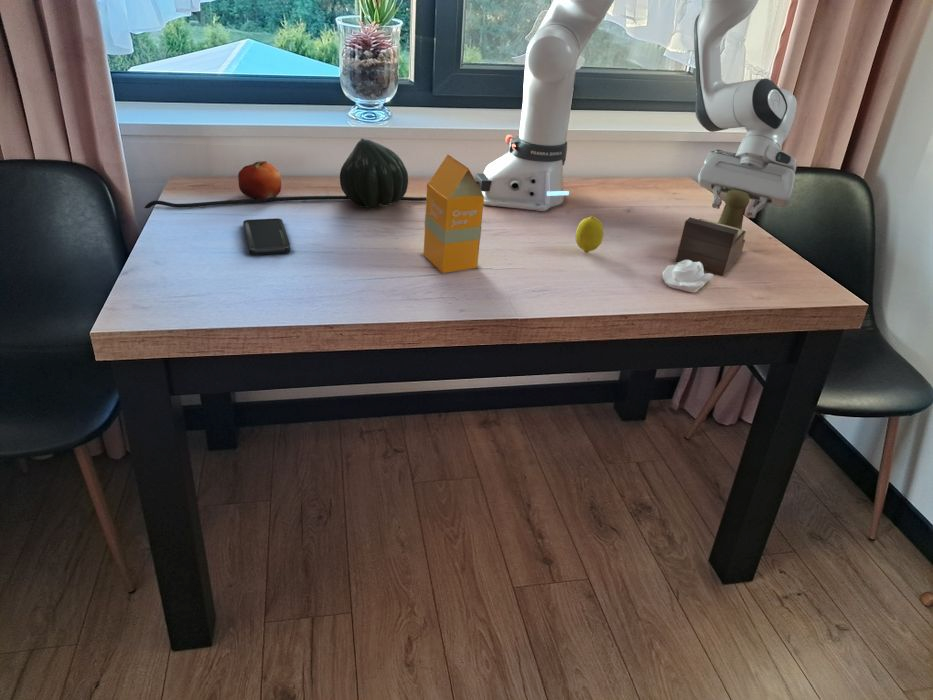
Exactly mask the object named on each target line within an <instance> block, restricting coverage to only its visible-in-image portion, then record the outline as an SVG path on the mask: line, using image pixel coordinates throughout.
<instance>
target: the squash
mask: <svg viewBox="0 0 933 700" xmlns="http://www.w3.org/2000/svg"><path fill="white" fill-rule="evenodd" d="M339 184H340V187H341V190H342V192H343V194H344V196H347V197H348V198H349V199H348V200H350V201H351V203H352V204H353V205H355V206H356V207H359V208H367V209H368V210H376V209H378V208H379V207H380V206H383V207H386V206H390V204H395V203H397V202H399V201H401V200H400V199H402V198H403V197H405V195H406V193H407V190H408V186H409V173H408V170H407V168H406V166H405V163H404V162H403V160H402V159H401V157H400V156H399V155H398V154H396V152H395V151H393V150H391V149H390V148H388V147H386V146H384V145H382V144H380V143H378V142H376V141H373V140H371V139H367V138H360V140H359V141H358V142H357V143H356V145H355V146H354V148H353V149H352V151H351V152H350V154H349V156H348V157H347V158H346V160H345V161H344V163H343V165H342V166H341V169H340V173H339Z"/></svg>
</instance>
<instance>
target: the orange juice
mask: <svg viewBox="0 0 933 700" xmlns="http://www.w3.org/2000/svg"><path fill="white" fill-rule="evenodd" d="M446 154H447V155H446V156H445V158H444V159H443V161H441V164H440V165H439V167H438V168H437V169H436V171H435V173H434V174H433V176H432V177H431V178H430V180H429V181H428V183H427V184H426V197H427V199H426V201H425V202H426V203H425V215H424V236H423V237H424V238H423V239H424V240H423V256H424V257H425V258H426V259H427V260H428V261H429V262H430V263H431V264H433V266H435V268H437V269H438V270H439V271H440V272H441V273H442V274H445V273H446V274H447V273H453V272H459V271H466V270H472V269H478V263H479V253H480V245H481V244H480V242H481V236H482V221H483V212H484V205H483V202H484V197H485V196H484V195H483V193H482V191H481V189H480V188H479V186H478V184H477V183H476V181H475V178H474V177H475V176H473V174H472V172H471V170H470V169H469V167H467V166H466V165H465V164H463V163H461V162H460V161H458V160H457V159H455V158H454V157H452V156H451V155H450V154H448V153H446Z"/></svg>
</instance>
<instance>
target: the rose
mask: <svg viewBox="0 0 933 700" xmlns="http://www.w3.org/2000/svg"><path fill="white" fill-rule="evenodd" d="M713 278H714V273H712V272H706V273H705V270H704V268H703V265H702V263H701V262H692V261H691V260H683V261H681V262H679V263H678V262H677V263H676V264H675V265H674V264H669V265H667V266H666V268H665V269H663V271H662V279H663V281H664V284H665V285H667V286H668V288H669V287H670V288H671V289H677V290H681V291H684V292H688V293H697V291H699V290H701V288H703V286H705V285H706V283H708V282H709V281H710V280H712V279H713Z"/></svg>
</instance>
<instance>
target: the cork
mask: <svg viewBox="0 0 933 700" xmlns="http://www.w3.org/2000/svg"><path fill="white" fill-rule="evenodd" d="M750 201H751V199H750V197H749V195H748V194H747V193H746V192H744V191H741V190H730V191H728V192H727V193H725V196H724V204H725V205H724V208H723V210H722V211H721V214H720V217H719V219H718V221H717V223H720V224H723V225H727V226H731V227H735V228H738V229H742V228H743V222H744V215H745V214H744V213H745V208H747V207H748V205H749V204H750ZM742 230H743V229H742Z"/></svg>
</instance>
